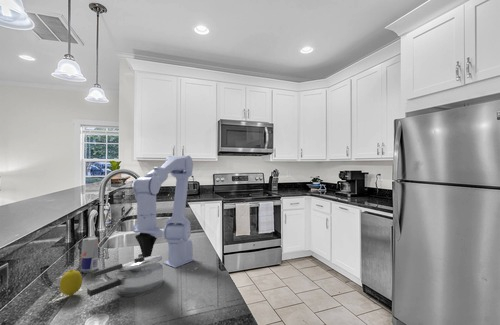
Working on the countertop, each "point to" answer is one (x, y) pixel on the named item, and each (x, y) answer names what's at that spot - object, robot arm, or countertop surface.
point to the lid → (129, 265)
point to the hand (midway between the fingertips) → (146, 256)
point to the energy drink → (89, 254)
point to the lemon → (70, 282)
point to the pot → (133, 281)
